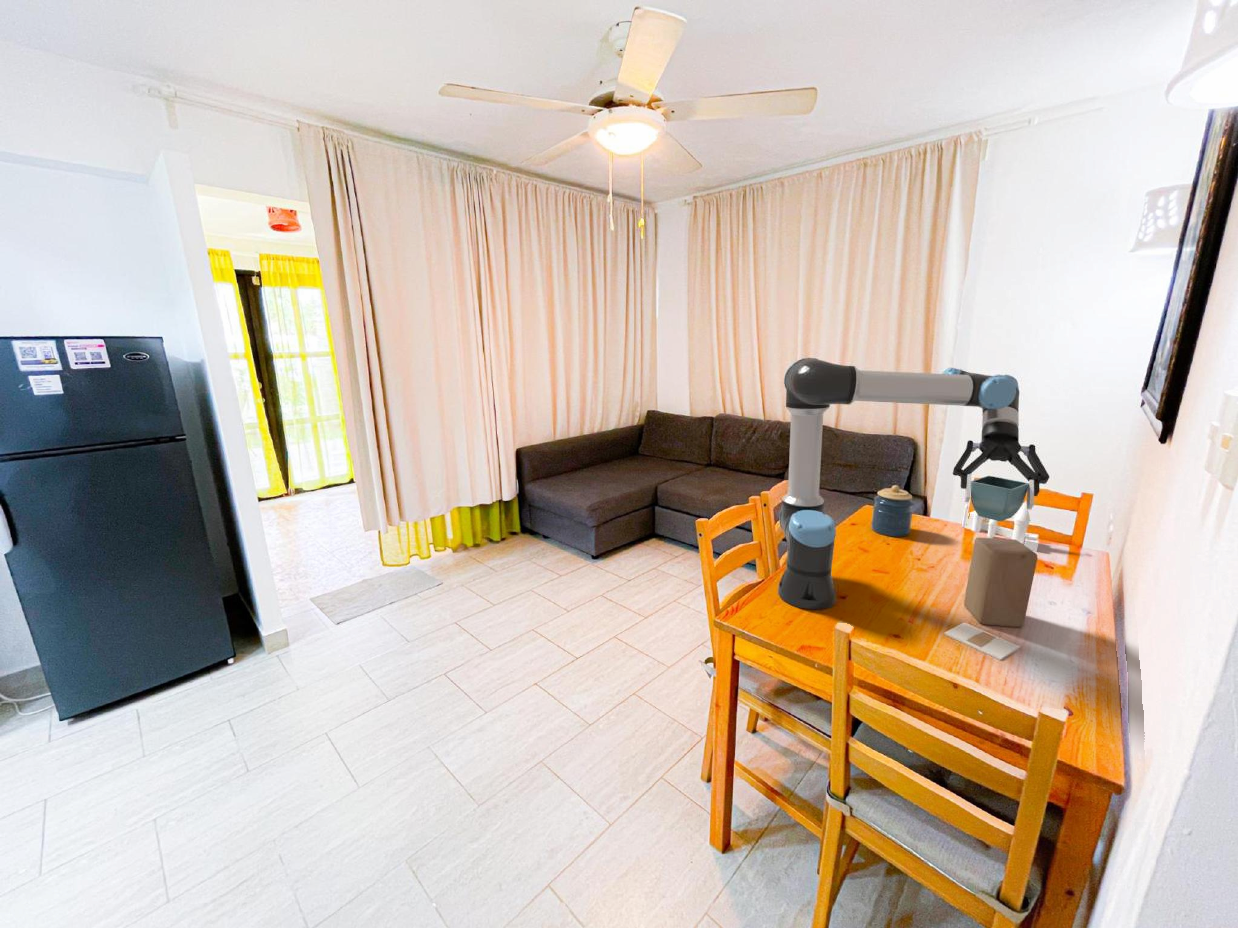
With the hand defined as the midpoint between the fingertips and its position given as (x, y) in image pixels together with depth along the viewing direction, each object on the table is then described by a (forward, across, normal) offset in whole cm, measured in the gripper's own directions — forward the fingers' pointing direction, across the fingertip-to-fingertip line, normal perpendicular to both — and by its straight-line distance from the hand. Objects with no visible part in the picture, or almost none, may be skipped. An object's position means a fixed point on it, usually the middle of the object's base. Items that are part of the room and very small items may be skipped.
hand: (998, 503), depth 120 cm
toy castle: (-28, -13, -74) cm, 80 cm away
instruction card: (+29, 0, -16) cm, 33 cm away
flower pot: (+2, 0, -5) cm, 5 cm away
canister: (-19, +22, -64) cm, 71 cm away
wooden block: (+19, -3, -26) cm, 33 cm away
